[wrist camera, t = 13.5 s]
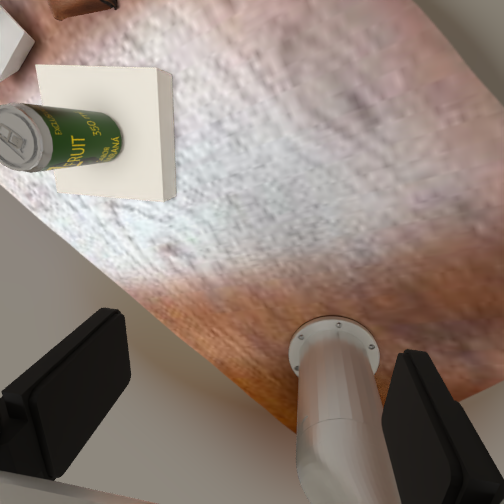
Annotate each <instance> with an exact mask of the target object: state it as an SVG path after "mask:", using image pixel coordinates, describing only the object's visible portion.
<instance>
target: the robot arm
mask: <svg viewBox="0 0 504 504" xmlns="http://www.w3.org/2000/svg"><path fill="white" fill-rule="evenodd" d="M288 355H289V362H290V365H291V368H292V369H293V371H294V373H295V374H296V375H297V376H298V377H299V381H298V412H297V443H296V468H297V473H298V478H299V481H300V483H301V486H302V489H303V491H304V493H305V495H306V497H307V499H308V500H309V502H310V503H311V504H504V479H503V477H502V475H501V474H500V472H499V470H498V469H497V467H496V465H495V463H494V461H493V460H492V458H491V456H490V455H489V453H488V451H487V449H486V448H485V446H484V444H483V442H482V441H481V439H480V437H479V435H478V434H477V432H476V430H475V429H474V427H473V425H472V423H471V422H470V420H469V418H468V416H467V415H466V413H465V411H464V409H463V408H462V406H461V405H460V403H458V402H457V401H455V400H453V398H452V396H451V394H450V392H449V391H448V389H447V387H446V385H445V383H444V382H443V380H442V378H441V376H440V374H439V373H438V371H437V369H436V367H435V365H434V364H433V362H432V360H431V358H430V357H429V355H428V353H427V352H424V351H417V350H409V349H406V350H405V351H404V353H399V354H398V356H397V360H396V363H395V367H394V371H393V375H392V379H391V382H390V386H389V390H388V394H387V398H386V401H385V405H384V409H383V406H382V403H381V399H380V396H379V392H378V388H377V385H376V381H375V378H374V374H375V373H376V371H377V369H378V366H379V361H380V354H379V349H378V346H377V343H376V341H375V339H374V337H373V335H372V334H371V333H370V332H369V331H368V330H367V329H366V328H365V327H364V326H362V325H361V324H359V323H357V322H355V321H353V320H350V319H347V318H343V317H337V316H327V317H320V318H317V319H314V320H311V321H309V322H307V323H305V324H304V325H303V326H301V327H300V328H299V329H298V330H297V331H296V332H295V334H294V335H293V337H292V339H291V341H290V345H289V354H288ZM130 378H131V370H130V360H129V351H128V343H127V334H126V326H125V317H124V315H123V314H121V312H120V311H119V310H118V309H110V308H101V309H99V310H98V311H97V312H96V313H94V314H93V315H92V316H91V317H90V318H88V319H87V320H86V321H85V322H84V323H82V324H81V325H80V326H79V327H78V328H76V329H75V330H74V331H73V332H72V333H71V334H69V335H68V336H67V337H66V338H65V339H63V340H62V341H61V342H60V343H59V344H57V345H56V346H55V347H54V348H53V349H51V350H50V351H49V352H48V353H47V354H45V355H44V356H43V357H42V358H41V359H40V360H38V361H37V362H36V363H35V364H34V365H32V366H31V367H30V368H29V369H28V370H26V371H25V372H24V373H23V374H22V375H20V376H19V377H18V378H17V379H16V380H14V381H13V382H12V383H11V384H10V385H8V386H7V387H6V388H5V389H4V390H2V395H3V396H2V397H1V398H0V504H157V503H153V502H148V501H144V500H139V499H135V498H130V497H125V496H120V495H116V494H112V493H107V492H103V491H98V490H93V489H89V488H84V487H79V486H75V485H70V484H65V483H61V482H56V481H54V480H55V479H56V478H59V477H61V476H62V475H63V474H64V473H65V472H66V470H67V469H68V467H69V466H70V465H71V463H72V462H73V461H74V459H75V458H76V456H77V455H78V453H79V452H80V451H81V449H82V448H83V447H84V445H85V444H86V442H87V441H88V440H89V438H90V437H91V435H92V434H93V433H94V431H95V430H96V429H97V427H98V426H99V424H100V423H101V421H102V420H103V419H104V417H105V416H106V415H107V413H108V412H109V410H110V409H111V408H112V406H113V405H114V403H115V402H116V401H117V399H118V398H119V396H120V395H121V394H122V392H123V391H124V389H125V388H126V387H127V385H128V384H129V381H130Z"/></svg>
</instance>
